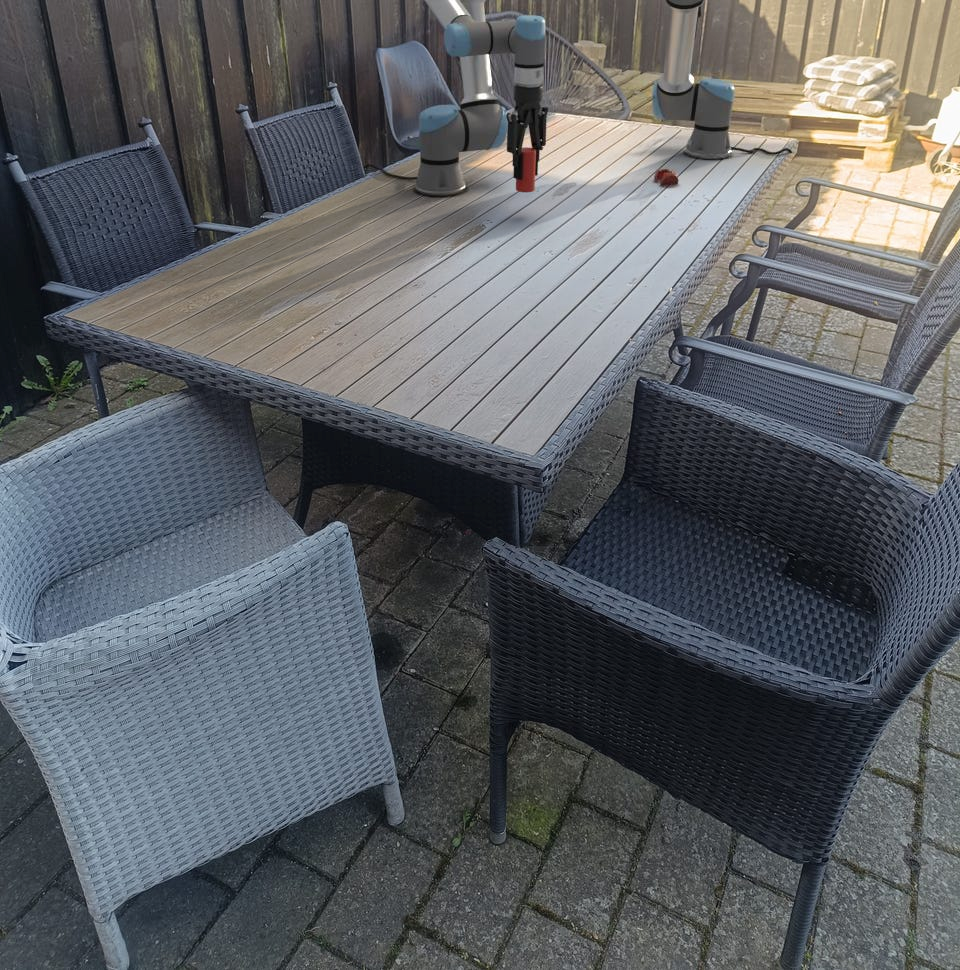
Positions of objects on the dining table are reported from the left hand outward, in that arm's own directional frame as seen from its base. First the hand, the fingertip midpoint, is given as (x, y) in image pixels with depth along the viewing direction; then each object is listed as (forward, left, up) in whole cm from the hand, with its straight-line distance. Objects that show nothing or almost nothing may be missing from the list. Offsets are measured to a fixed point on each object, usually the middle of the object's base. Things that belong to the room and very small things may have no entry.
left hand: (525, 176), depth 231 cm
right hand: (-15, +116, +21) cm, 119 cm away
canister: (0, 0, -4) cm, 4 cm away
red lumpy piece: (+15, +54, -11) cm, 57 cm away
